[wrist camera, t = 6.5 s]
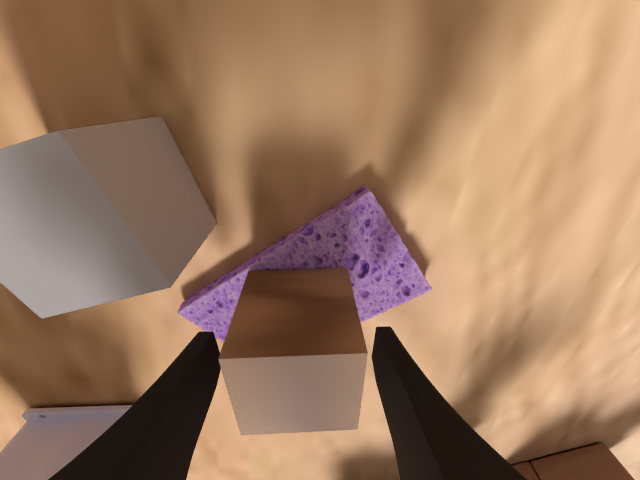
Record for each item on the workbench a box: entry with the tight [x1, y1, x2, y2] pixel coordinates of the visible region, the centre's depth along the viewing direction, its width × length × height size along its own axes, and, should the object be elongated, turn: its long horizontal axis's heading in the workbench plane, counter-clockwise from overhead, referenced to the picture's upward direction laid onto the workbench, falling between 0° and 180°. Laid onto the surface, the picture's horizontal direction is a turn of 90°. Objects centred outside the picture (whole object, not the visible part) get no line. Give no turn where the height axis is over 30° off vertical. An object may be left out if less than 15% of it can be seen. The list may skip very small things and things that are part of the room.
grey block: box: [0, 116, 217, 319], centre depth 10 cm, size 5×5×5 cm
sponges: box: [178, 186, 432, 343], centre depth 15 cm, size 7×13×2 cm, turn 124°
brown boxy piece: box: [218, 268, 368, 435], centre depth 12 cm, size 5×5×5 cm
